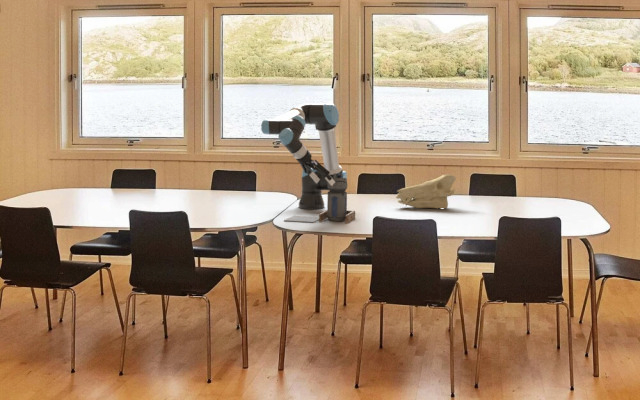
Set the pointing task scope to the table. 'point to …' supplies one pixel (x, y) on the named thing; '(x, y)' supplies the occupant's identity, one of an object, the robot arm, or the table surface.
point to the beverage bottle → (337, 199)
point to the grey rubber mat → (302, 219)
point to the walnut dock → (349, 217)
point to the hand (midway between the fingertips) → (325, 182)
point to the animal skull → (428, 193)
